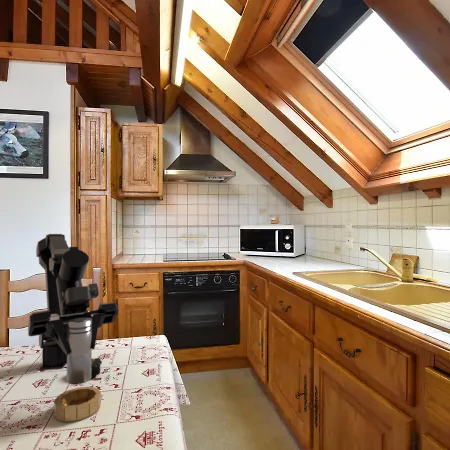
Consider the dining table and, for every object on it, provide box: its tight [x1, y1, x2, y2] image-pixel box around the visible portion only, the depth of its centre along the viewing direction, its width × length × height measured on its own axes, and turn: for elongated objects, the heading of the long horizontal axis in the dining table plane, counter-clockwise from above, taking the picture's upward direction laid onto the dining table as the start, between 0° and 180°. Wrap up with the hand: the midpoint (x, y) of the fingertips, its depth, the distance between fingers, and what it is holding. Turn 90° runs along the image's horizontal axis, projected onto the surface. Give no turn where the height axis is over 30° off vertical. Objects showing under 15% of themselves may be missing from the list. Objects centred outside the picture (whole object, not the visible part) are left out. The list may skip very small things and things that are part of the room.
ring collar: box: [53, 386, 102, 423], centre depth 70 cm, size 9×9×3 cm
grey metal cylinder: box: [66, 318, 93, 385], centre depth 71 cm, size 5×5×13 cm
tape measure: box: [91, 357, 103, 378], centre depth 88 cm, size 7×7×4 cm
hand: (80, 351), depth 70 cm, fingers closed on grey metal cylinder, 5 cm apart
